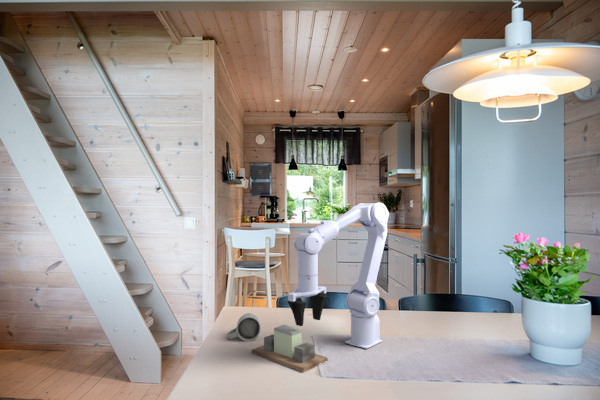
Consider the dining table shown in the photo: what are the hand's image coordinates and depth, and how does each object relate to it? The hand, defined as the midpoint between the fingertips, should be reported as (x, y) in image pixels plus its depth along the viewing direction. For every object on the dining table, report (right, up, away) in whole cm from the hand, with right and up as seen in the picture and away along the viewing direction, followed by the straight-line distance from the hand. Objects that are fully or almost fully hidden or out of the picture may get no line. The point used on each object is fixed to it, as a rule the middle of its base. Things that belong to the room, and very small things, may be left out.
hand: (308, 322), depth 111 cm
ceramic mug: (-21, -10, +15) cm, 27 cm away
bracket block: (-6, -8, -2) cm, 10 cm away
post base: (-6, -9, -2) cm, 11 cm away
